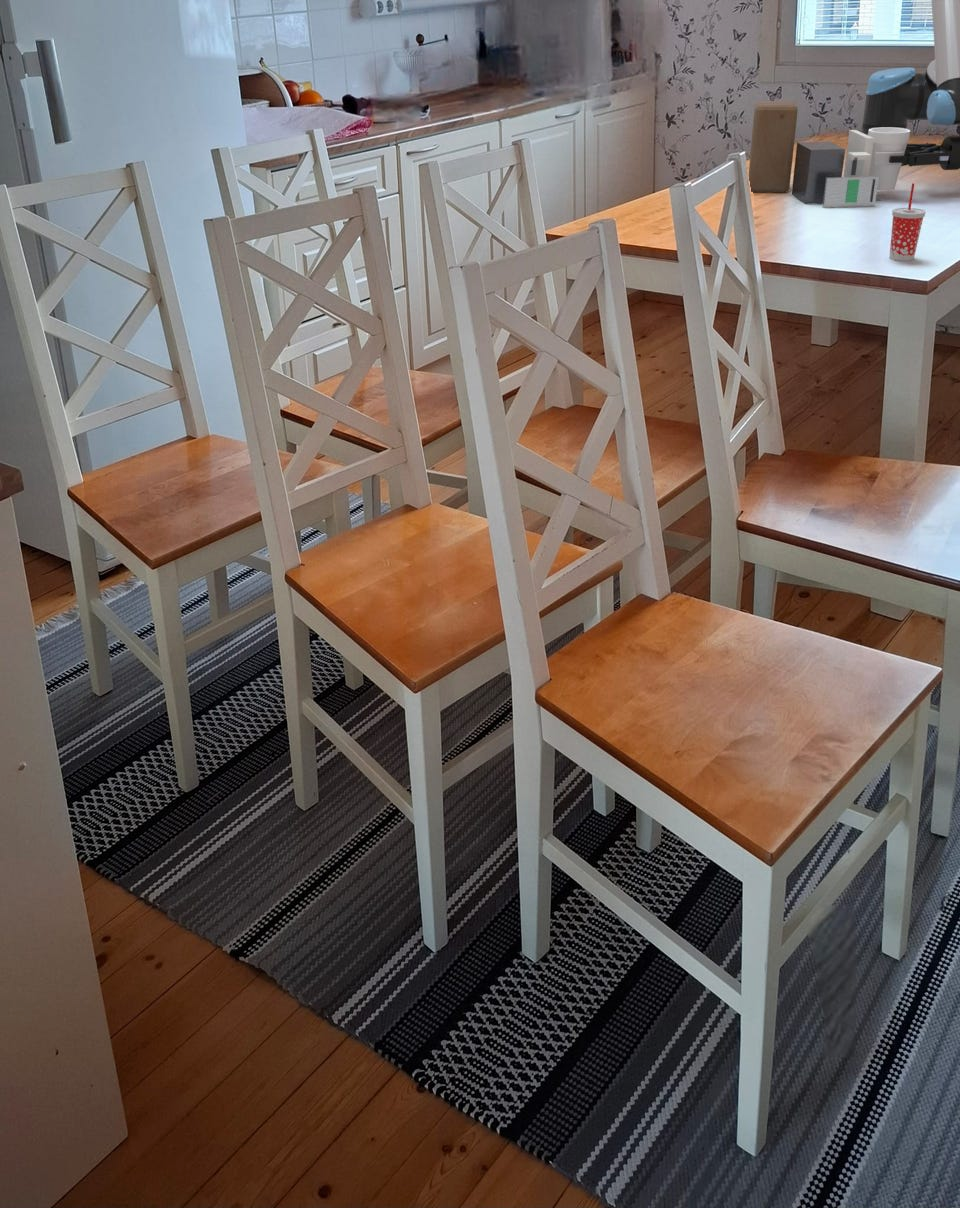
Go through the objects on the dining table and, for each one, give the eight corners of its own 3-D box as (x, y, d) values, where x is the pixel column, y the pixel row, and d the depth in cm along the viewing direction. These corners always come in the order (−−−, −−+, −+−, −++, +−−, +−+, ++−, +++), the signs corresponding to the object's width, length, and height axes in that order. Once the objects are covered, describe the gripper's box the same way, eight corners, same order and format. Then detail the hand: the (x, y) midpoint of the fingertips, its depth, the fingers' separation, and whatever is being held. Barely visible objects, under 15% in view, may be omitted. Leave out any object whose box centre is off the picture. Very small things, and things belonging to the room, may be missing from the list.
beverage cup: (909, 263, 226) (922, 187, 219) (879, 258, 230) (890, 184, 223) (923, 257, 230) (935, 182, 223) (893, 252, 234) (904, 179, 227)
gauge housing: (866, 192, 287) (873, 140, 281) (889, 205, 273) (898, 151, 267) (791, 194, 287) (797, 142, 281) (811, 208, 272) (817, 153, 266)
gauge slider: (848, 186, 287) (855, 129, 280) (871, 200, 272) (879, 140, 266) (826, 187, 287) (833, 130, 280) (848, 201, 272) (855, 141, 266)
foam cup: (873, 182, 287) (881, 126, 281) (908, 187, 281) (917, 129, 275) (853, 188, 281) (861, 130, 275) (888, 193, 275) (897, 134, 269)
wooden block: (789, 193, 288) (798, 105, 278) (747, 192, 290) (755, 105, 280) (787, 185, 296) (796, 100, 286) (747, 185, 298) (755, 100, 288)
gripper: (976, 177, 270) (880, 180, 270) (940, 161, 289) (850, 164, 289) (983, 143, 266) (885, 145, 266) (946, 129, 286) (855, 131, 285)
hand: (867, 155), depth 277 cm, fingers closed on foam cup, 9 cm apart
